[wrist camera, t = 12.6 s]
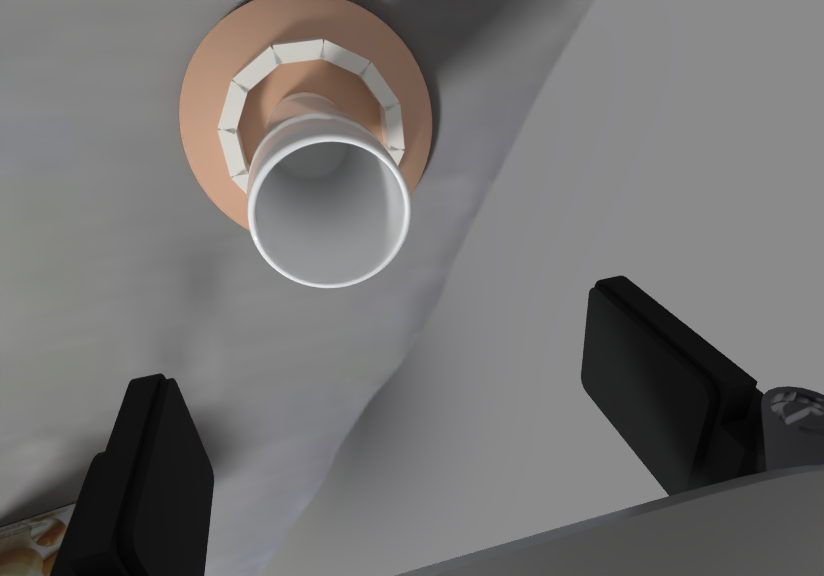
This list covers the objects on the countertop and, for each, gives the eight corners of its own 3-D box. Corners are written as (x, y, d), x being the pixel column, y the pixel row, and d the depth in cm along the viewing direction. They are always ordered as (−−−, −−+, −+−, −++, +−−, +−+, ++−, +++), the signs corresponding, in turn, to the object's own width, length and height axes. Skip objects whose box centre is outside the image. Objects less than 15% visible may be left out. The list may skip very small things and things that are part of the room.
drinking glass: (369, 92, 34) (433, 151, 21) (348, 192, 36) (393, 299, 24) (260, 65, 31) (256, 114, 19) (246, 175, 34) (235, 281, 21)
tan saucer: (143, 7, 29) (131, 8, 27) (418, -23, 32) (431, -24, 29) (221, 259, 38) (218, 278, 35) (436, 220, 40) (447, 235, 38)
